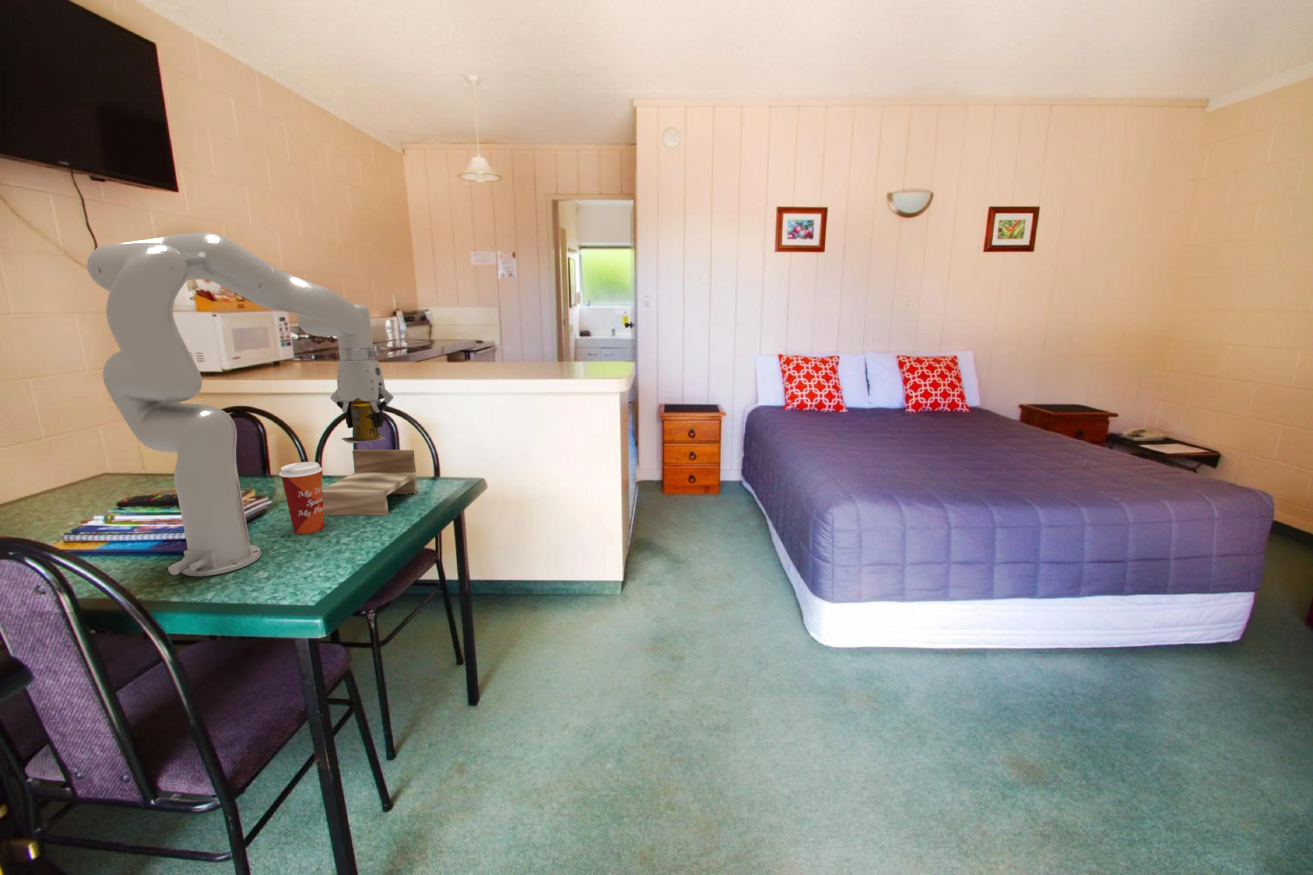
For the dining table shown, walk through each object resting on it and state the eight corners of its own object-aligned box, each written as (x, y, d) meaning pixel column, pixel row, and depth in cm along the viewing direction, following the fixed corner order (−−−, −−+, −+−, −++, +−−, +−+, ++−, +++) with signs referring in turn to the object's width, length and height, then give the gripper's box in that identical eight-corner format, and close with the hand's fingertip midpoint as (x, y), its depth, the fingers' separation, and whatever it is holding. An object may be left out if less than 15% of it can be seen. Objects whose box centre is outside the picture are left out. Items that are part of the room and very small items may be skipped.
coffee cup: (310, 537, 124) (301, 471, 121) (279, 534, 126) (268, 469, 122) (338, 523, 132) (330, 461, 129) (308, 521, 134) (299, 460, 130)
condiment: (386, 439, 144) (381, 392, 141) (350, 444, 138) (344, 395, 135) (376, 434, 149) (371, 389, 146) (341, 439, 143) (335, 392, 140)
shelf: (385, 515, 137) (380, 468, 135) (320, 514, 138) (314, 467, 135) (417, 492, 155) (413, 449, 152) (360, 491, 155) (355, 449, 153)
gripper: (398, 354, 142) (405, 424, 146) (331, 354, 143) (340, 424, 147) (383, 357, 135) (391, 430, 139) (313, 357, 135) (323, 430, 139)
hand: (365, 426), depth 143 cm, fingers closed on condiment, 6 cm apart
